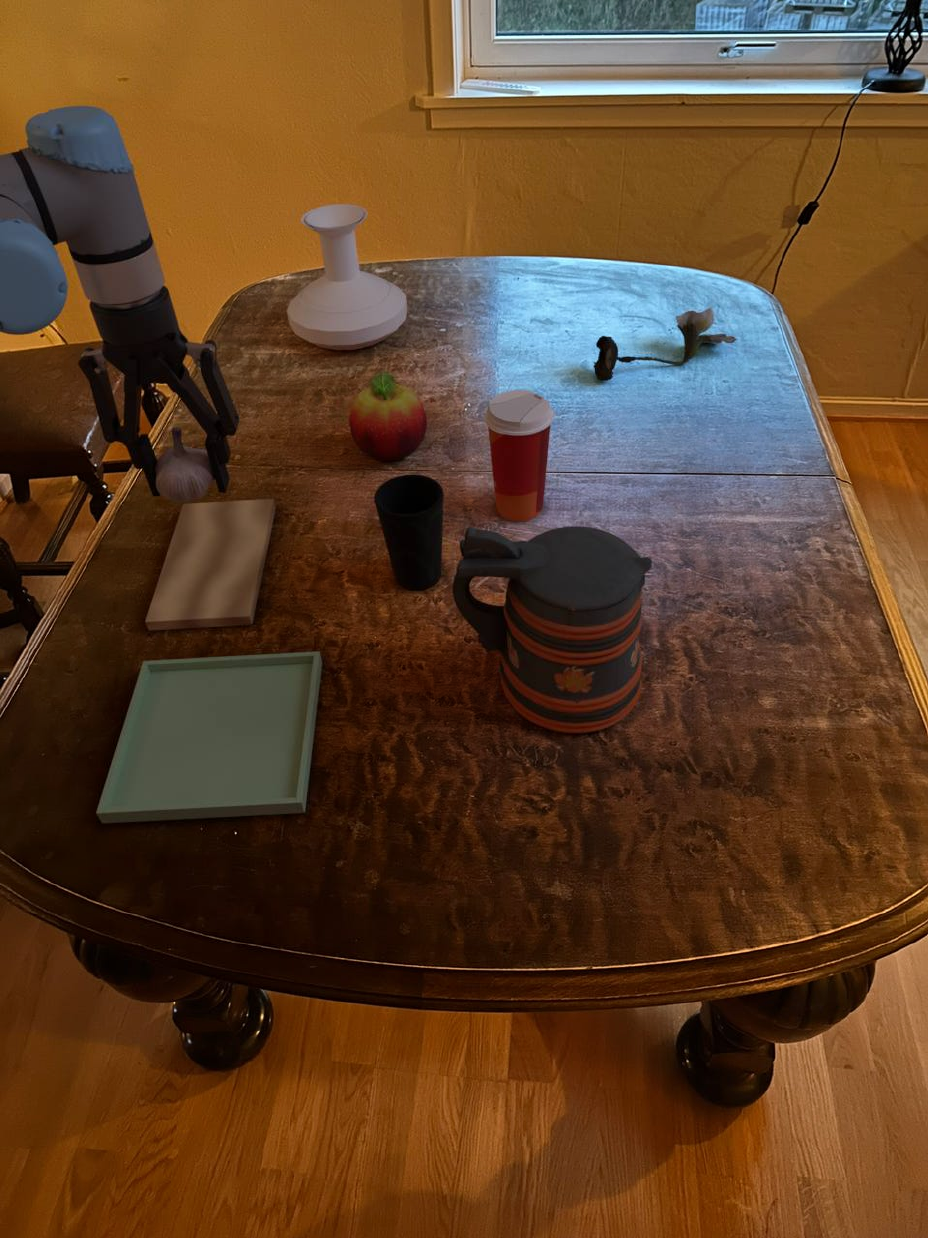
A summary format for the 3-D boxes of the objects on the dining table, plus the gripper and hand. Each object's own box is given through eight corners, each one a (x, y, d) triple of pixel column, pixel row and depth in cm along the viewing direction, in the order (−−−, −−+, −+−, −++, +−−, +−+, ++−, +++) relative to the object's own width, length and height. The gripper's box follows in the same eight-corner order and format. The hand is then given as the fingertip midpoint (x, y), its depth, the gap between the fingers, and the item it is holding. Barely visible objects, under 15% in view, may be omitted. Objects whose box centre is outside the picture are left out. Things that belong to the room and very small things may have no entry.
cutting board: (148, 631, 101) (144, 621, 100) (185, 512, 117) (182, 503, 116) (252, 625, 101) (249, 615, 100) (276, 507, 117) (273, 498, 116)
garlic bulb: (209, 462, 105) (191, 402, 99) (236, 490, 100) (219, 430, 95) (149, 487, 102) (127, 427, 96) (174, 517, 97) (153, 456, 92)
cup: (378, 592, 104) (364, 511, 96) (396, 550, 109) (385, 470, 101) (441, 600, 103) (433, 519, 94) (457, 558, 108) (450, 477, 99)
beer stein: (457, 739, 88) (444, 593, 74) (460, 633, 99) (449, 488, 85) (649, 736, 87) (672, 587, 73) (632, 630, 98) (649, 482, 84)
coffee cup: (521, 480, 118) (521, 379, 108) (564, 508, 114) (568, 405, 103) (473, 506, 115) (468, 405, 104) (516, 536, 110) (515, 433, 100)
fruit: (351, 474, 121) (341, 410, 114) (355, 430, 129) (346, 368, 122) (429, 469, 121) (423, 405, 114) (429, 426, 129) (423, 363, 122)
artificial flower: (584, 372, 140) (588, 306, 135) (713, 364, 145) (721, 300, 140) (606, 385, 132) (610, 315, 128) (741, 376, 137) (750, 309, 133)
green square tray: (102, 823, 83) (95, 813, 82) (148, 671, 97) (143, 660, 96) (305, 813, 83) (301, 802, 82) (322, 662, 97) (319, 651, 95)
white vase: (290, 314, 157) (267, 201, 143) (401, 299, 159) (389, 186, 145) (295, 368, 143) (271, 249, 129) (417, 352, 145) (406, 232, 131)
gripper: (236, 269, 87) (281, 463, 103) (37, 281, 87) (114, 473, 104) (223, 303, 82) (273, 502, 98) (12, 316, 82) (97, 512, 98)
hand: (191, 487), depth 101 cm, fingers closed on garlic bulb, 7 cm apart
